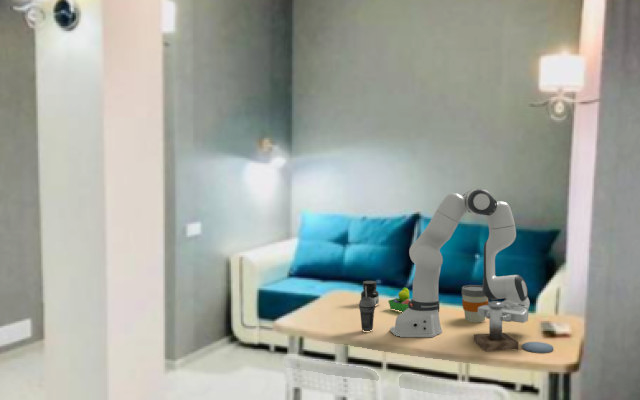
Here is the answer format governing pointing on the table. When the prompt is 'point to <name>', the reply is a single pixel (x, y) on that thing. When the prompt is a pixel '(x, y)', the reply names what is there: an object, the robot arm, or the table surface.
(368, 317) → the beverage cup
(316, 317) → the table surface
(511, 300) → the robot arm
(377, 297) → the ink bottle
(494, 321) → the steel plug
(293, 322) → the table surface
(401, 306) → the fruit basket
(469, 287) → the reusable coffee cup
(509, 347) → the walnut socket block
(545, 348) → the slate rubber mat
